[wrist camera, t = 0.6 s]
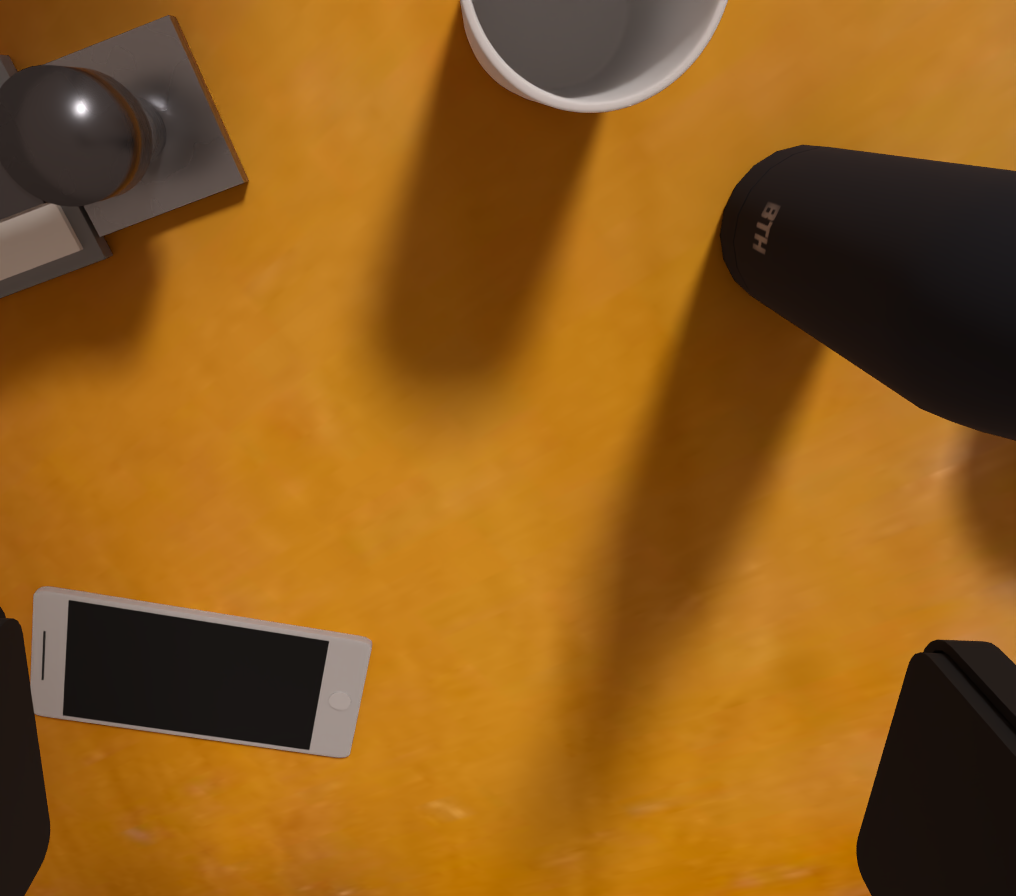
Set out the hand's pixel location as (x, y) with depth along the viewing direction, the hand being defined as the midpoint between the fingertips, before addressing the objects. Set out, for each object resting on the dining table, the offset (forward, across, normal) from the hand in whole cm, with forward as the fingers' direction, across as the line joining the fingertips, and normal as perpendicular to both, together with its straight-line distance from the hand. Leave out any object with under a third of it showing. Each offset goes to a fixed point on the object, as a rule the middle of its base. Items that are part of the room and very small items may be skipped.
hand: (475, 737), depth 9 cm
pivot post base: (+28, +12, -5) cm, 31 cm away
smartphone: (+29, +11, +20) cm, 37 cm away
